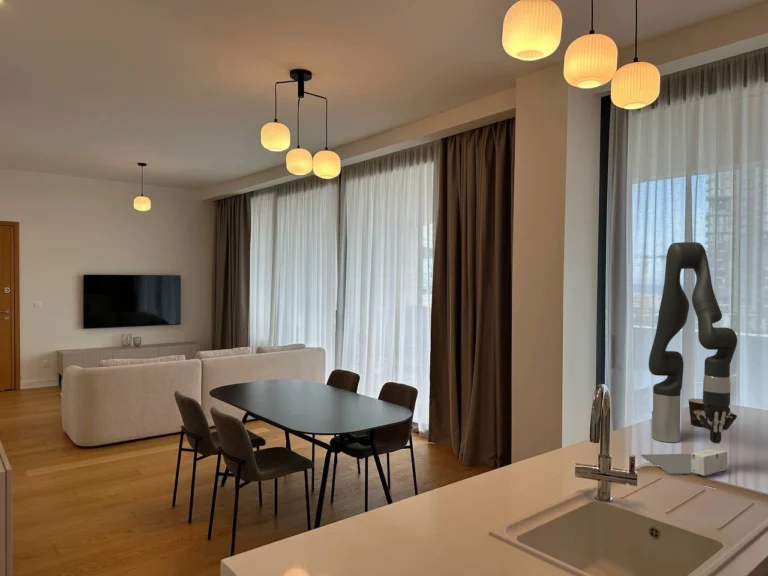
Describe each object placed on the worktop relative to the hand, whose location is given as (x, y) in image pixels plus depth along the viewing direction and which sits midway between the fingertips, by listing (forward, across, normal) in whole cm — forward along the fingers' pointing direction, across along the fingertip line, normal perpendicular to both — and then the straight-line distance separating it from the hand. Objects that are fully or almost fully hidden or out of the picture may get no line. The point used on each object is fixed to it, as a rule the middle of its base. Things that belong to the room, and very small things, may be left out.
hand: (715, 442), depth 175 cm
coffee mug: (+8, -26, -45) cm, 52 cm away
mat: (+8, +10, -3) cm, 13 cm away
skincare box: (+4, 0, +2) cm, 5 cm away
